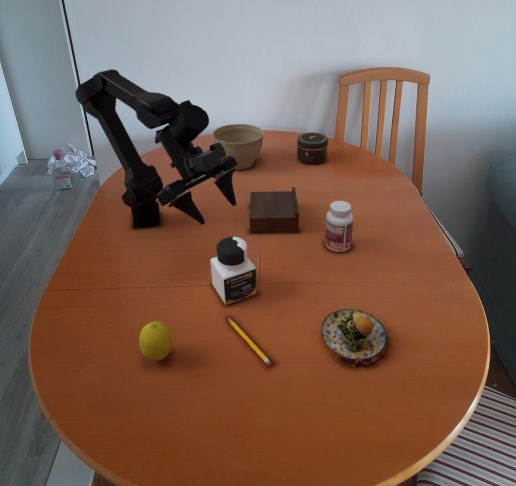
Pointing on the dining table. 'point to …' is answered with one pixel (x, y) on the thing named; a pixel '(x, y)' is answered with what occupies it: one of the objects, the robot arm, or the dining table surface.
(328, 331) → the food bowl
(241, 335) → the pencil
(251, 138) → the planter bowl
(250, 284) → the medicine bottle
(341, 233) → the pill bottle
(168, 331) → the lemon
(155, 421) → the dining table surface
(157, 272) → the dining table surface
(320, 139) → the jar
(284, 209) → the dark brown lipped tray
